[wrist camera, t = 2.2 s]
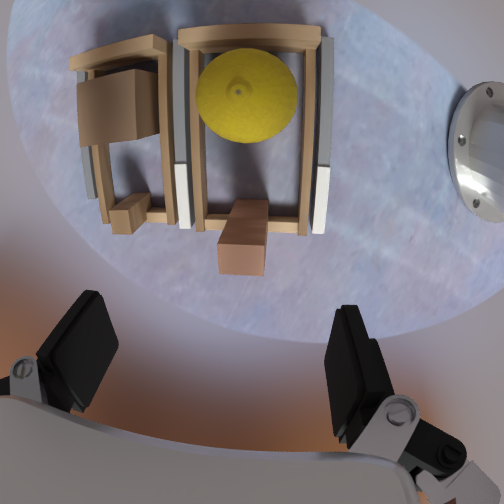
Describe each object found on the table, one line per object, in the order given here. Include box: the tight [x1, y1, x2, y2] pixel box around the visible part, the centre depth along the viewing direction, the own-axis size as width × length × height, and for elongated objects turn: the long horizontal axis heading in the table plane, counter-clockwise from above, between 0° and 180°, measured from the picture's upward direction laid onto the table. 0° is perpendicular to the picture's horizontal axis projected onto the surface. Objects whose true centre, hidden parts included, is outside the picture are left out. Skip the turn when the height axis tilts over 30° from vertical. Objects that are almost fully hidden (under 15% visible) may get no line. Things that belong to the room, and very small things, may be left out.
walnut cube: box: [77, 69, 160, 148], centre depth 17 cm, size 4×4×4 cm
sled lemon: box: [178, 23, 321, 276], centre depth 16 cm, size 8×14×8 cm, turn 0°
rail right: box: [77, 71, 98, 199], centre depth 19 cm, size 1×11×2 cm, turn 179°
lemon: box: [195, 48, 298, 143], centre depth 14 cm, size 6×6×8 cm
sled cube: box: [69, 34, 179, 235], centre depth 18 cm, size 6×14×4 cm, turn 0°
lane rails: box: [173, 36, 334, 234], centre depth 18 cm, size 10×14×2 cm
